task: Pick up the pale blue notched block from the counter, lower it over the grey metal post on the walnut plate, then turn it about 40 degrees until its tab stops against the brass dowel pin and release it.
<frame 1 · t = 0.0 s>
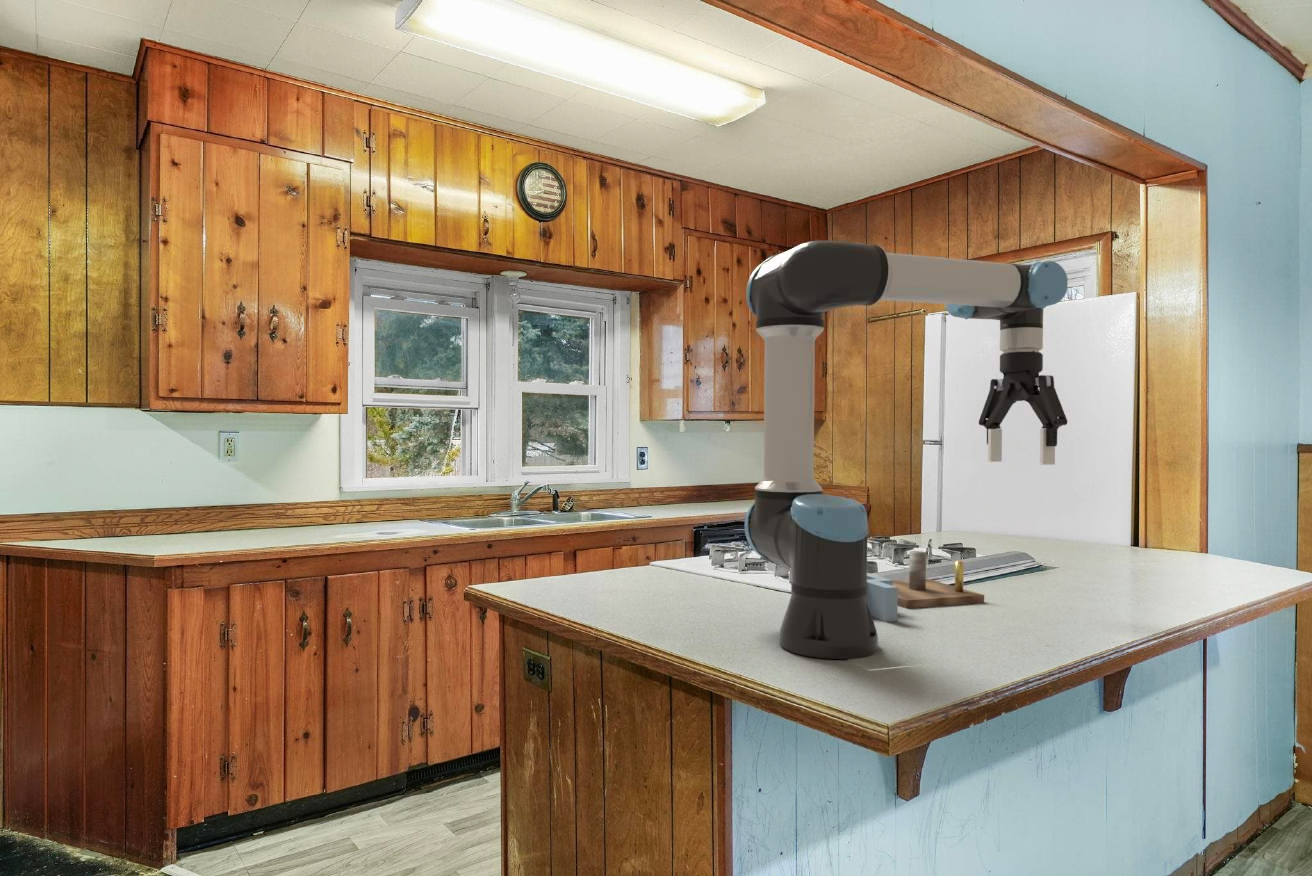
hand: (1019, 463, 155), 28 cm above the countertop, fingers open, 13 cm apart
pale blue notched block: (881, 617, 146), on the countertop
dowel: (958, 598, 163), resting on post base
post base: (917, 596, 165), on the countertop
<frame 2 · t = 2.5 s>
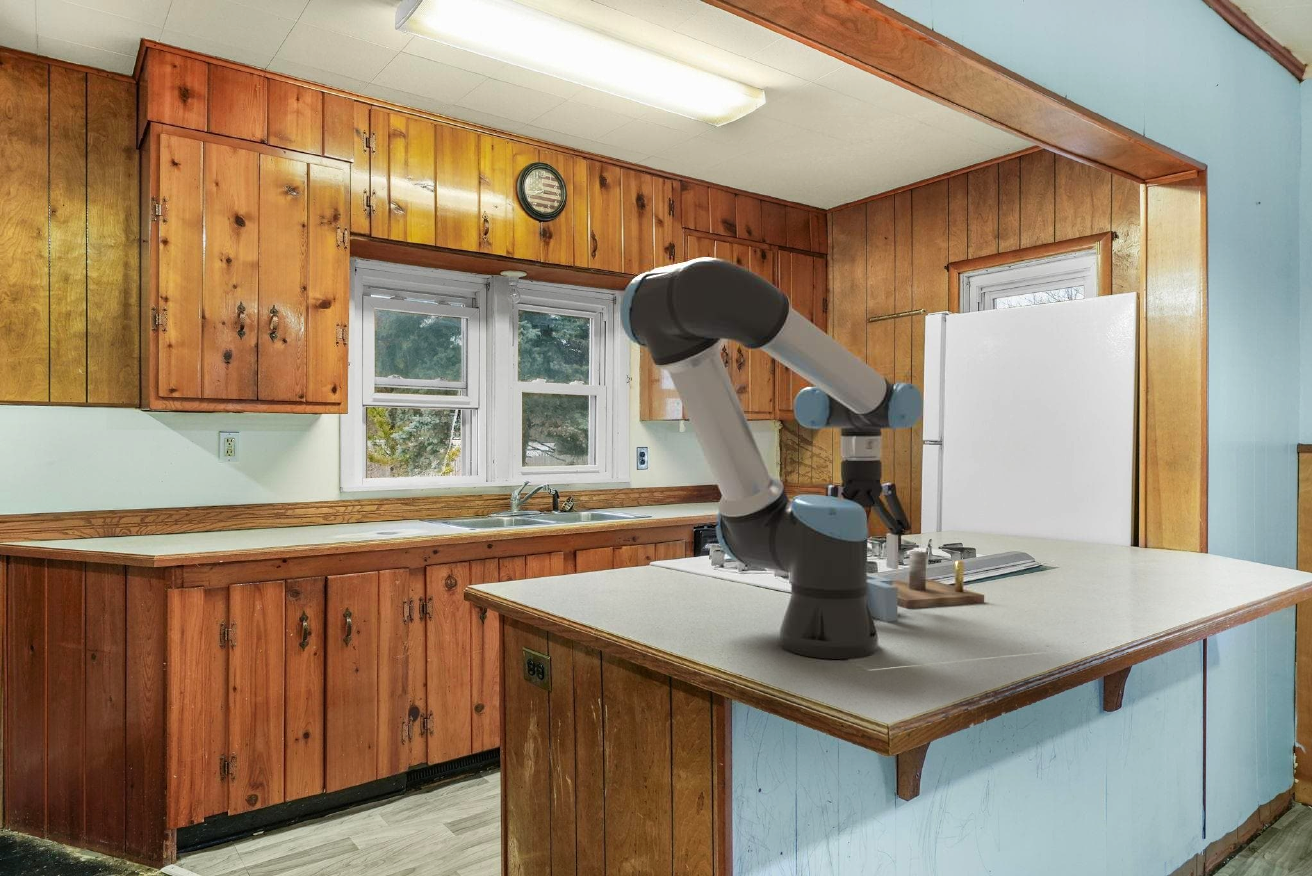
hand: (861, 570, 153), 7 cm above the countertop, fingers open, 13 cm apart
nothing on the countertop moved.
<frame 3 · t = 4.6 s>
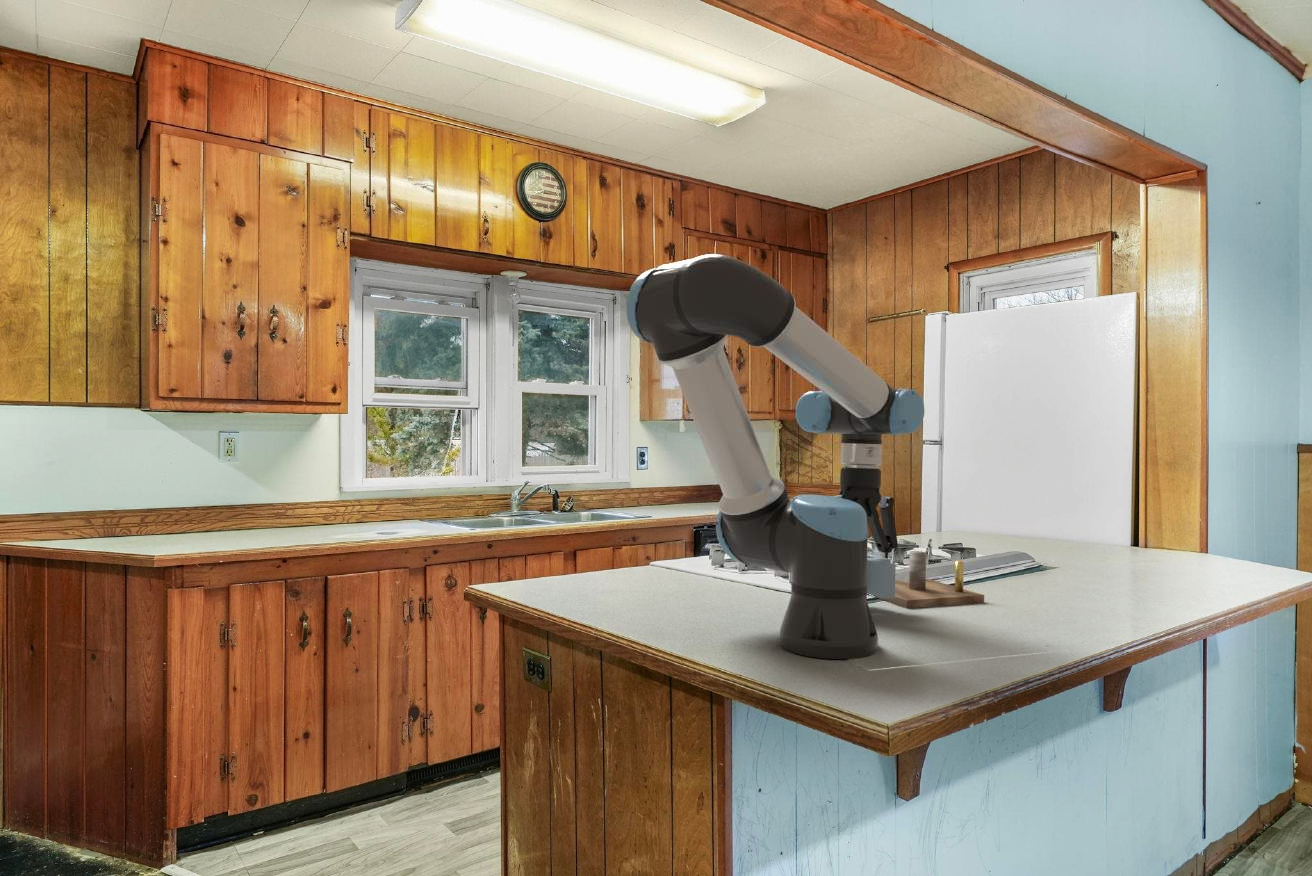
hand: (857, 586, 152), 4 cm above the countertop, fingers closed on pale blue notched block, 8 cm apart
pale blue notched block: (879, 595, 145), point 4 cm above the countertop, touching gripper
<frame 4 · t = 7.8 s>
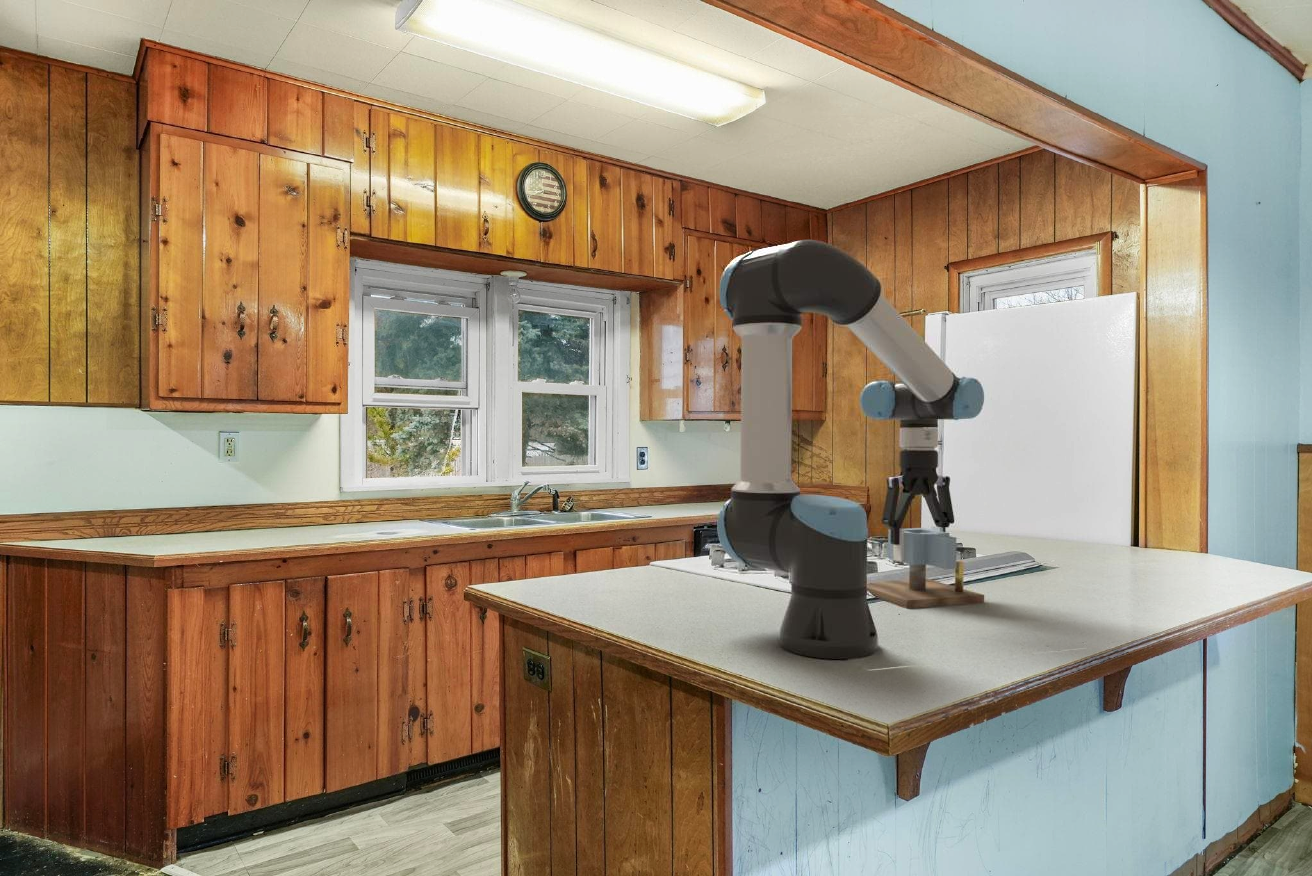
hand: (918, 559, 165), 8 cm above the countertop, fingers closed on pale blue notched block, 8 cm apart
pale blue notched block: (941, 566, 158), point 7 cm above the countertop, touching gripper
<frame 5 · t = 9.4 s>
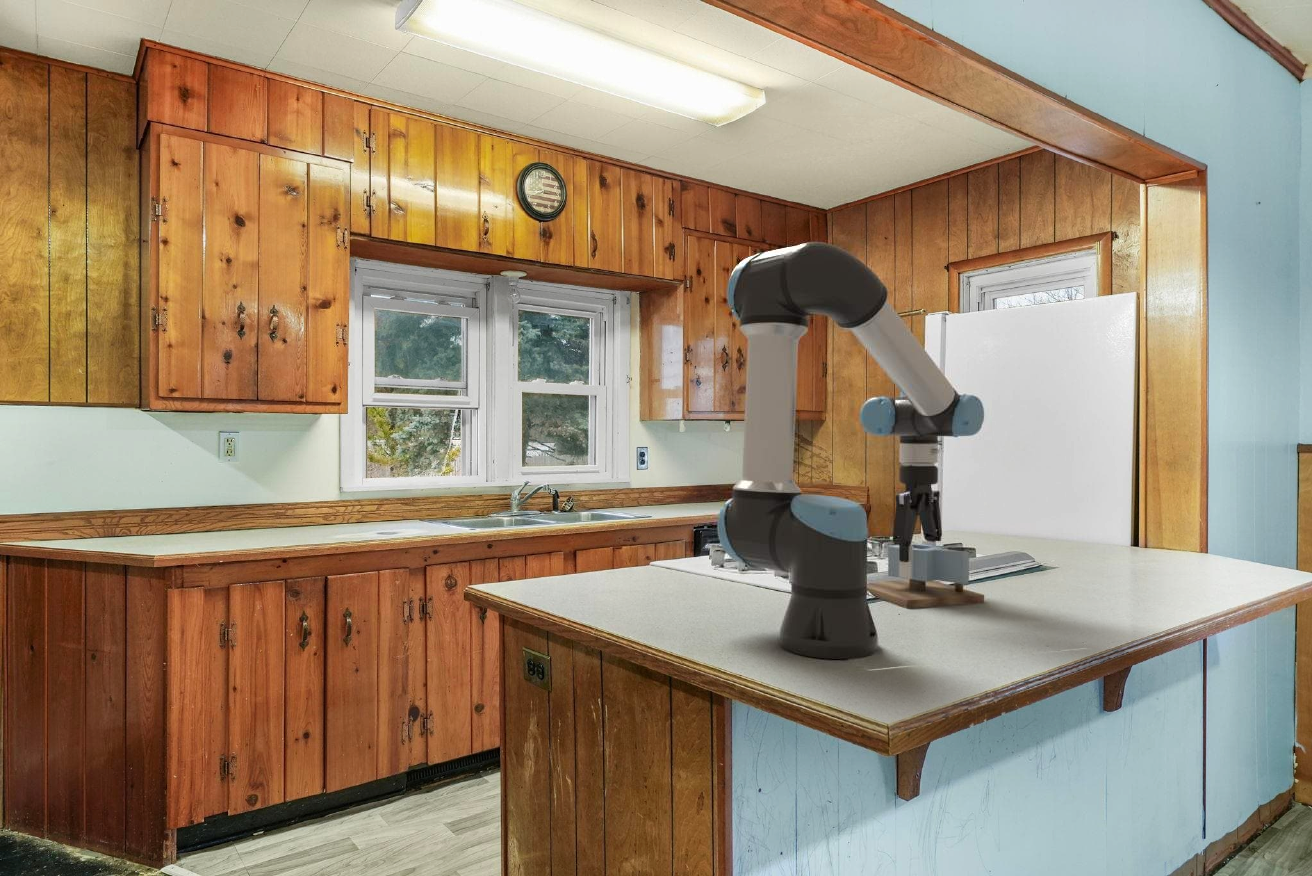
hand: (917, 574, 165), 4 cm above the countertop, fingers closed on pale blue notched block, 8 cm apart
pale blue notched block: (951, 580, 160), point 4 cm above the countertop, touching gripper
when the fingers open (3 cm above the countertop, at t = 10.9 s): pale blue notched block drops 1 cm, resting on post base.
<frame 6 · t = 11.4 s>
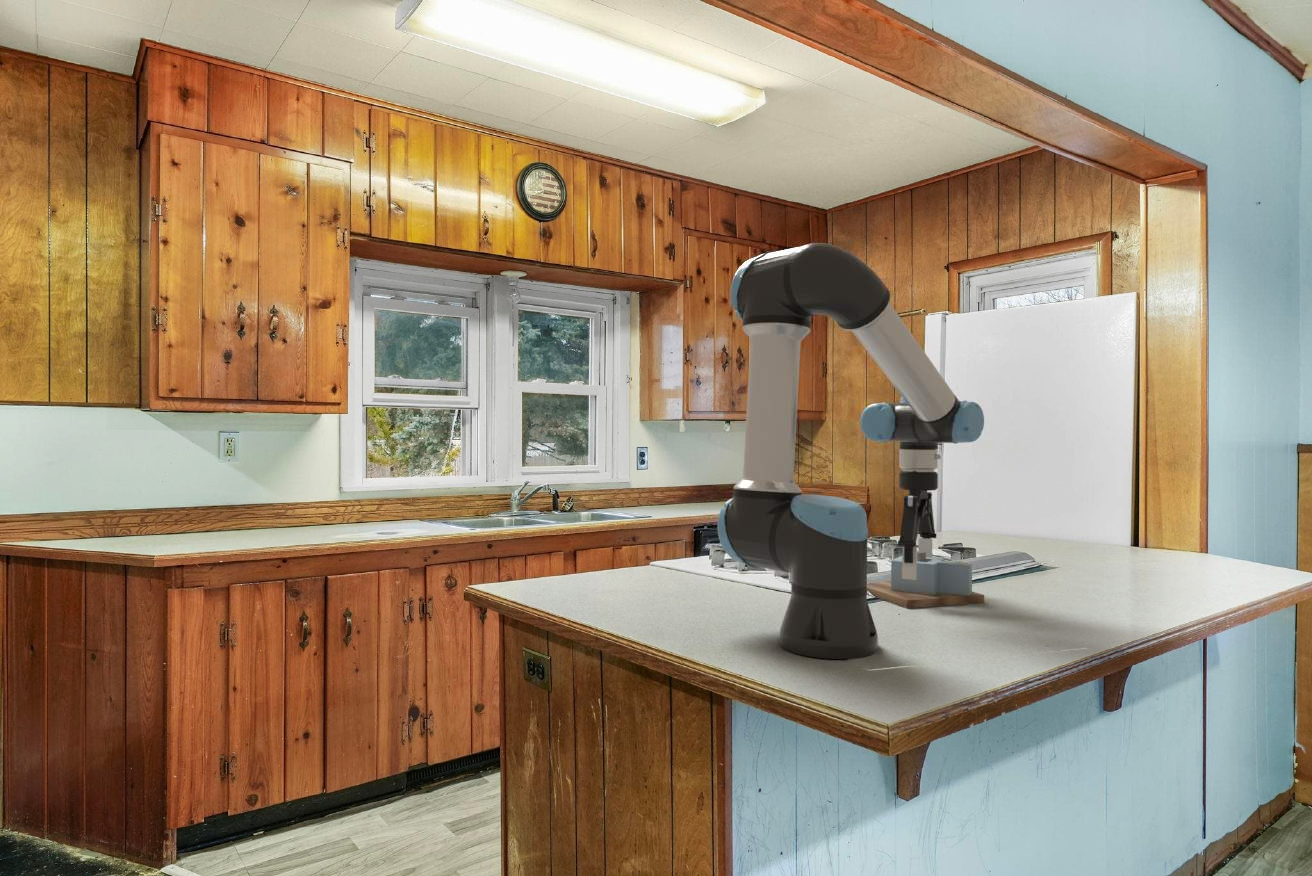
hand: (917, 574, 165), 5 cm above the countertop, fingers open, 13 cm apart
pale blue notched block: (954, 592, 161), point 1 cm above the countertop, touching post base
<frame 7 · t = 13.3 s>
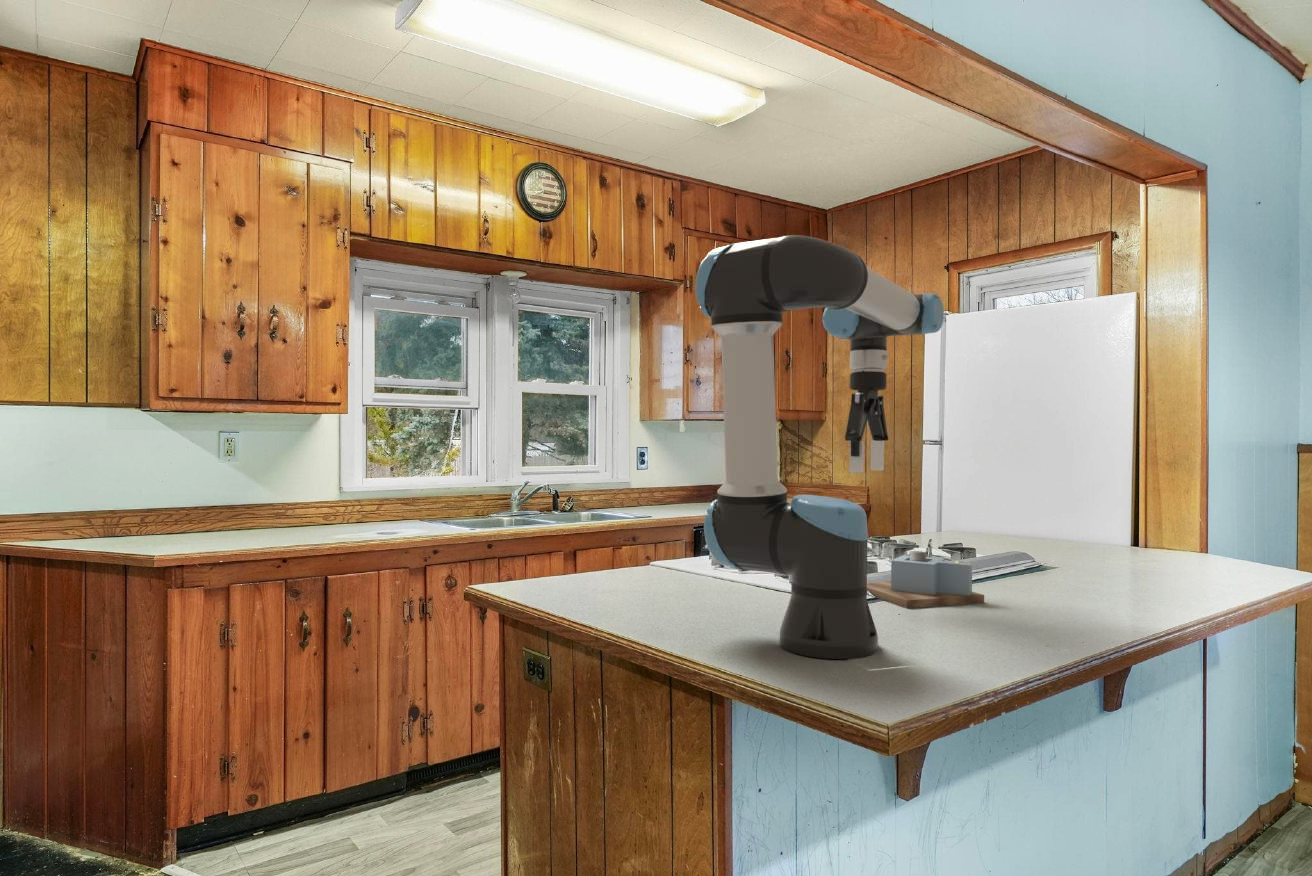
hand: (867, 471, 171), 25 cm above the countertop, fingers open, 13 cm apart
nothing on the countertop moved.
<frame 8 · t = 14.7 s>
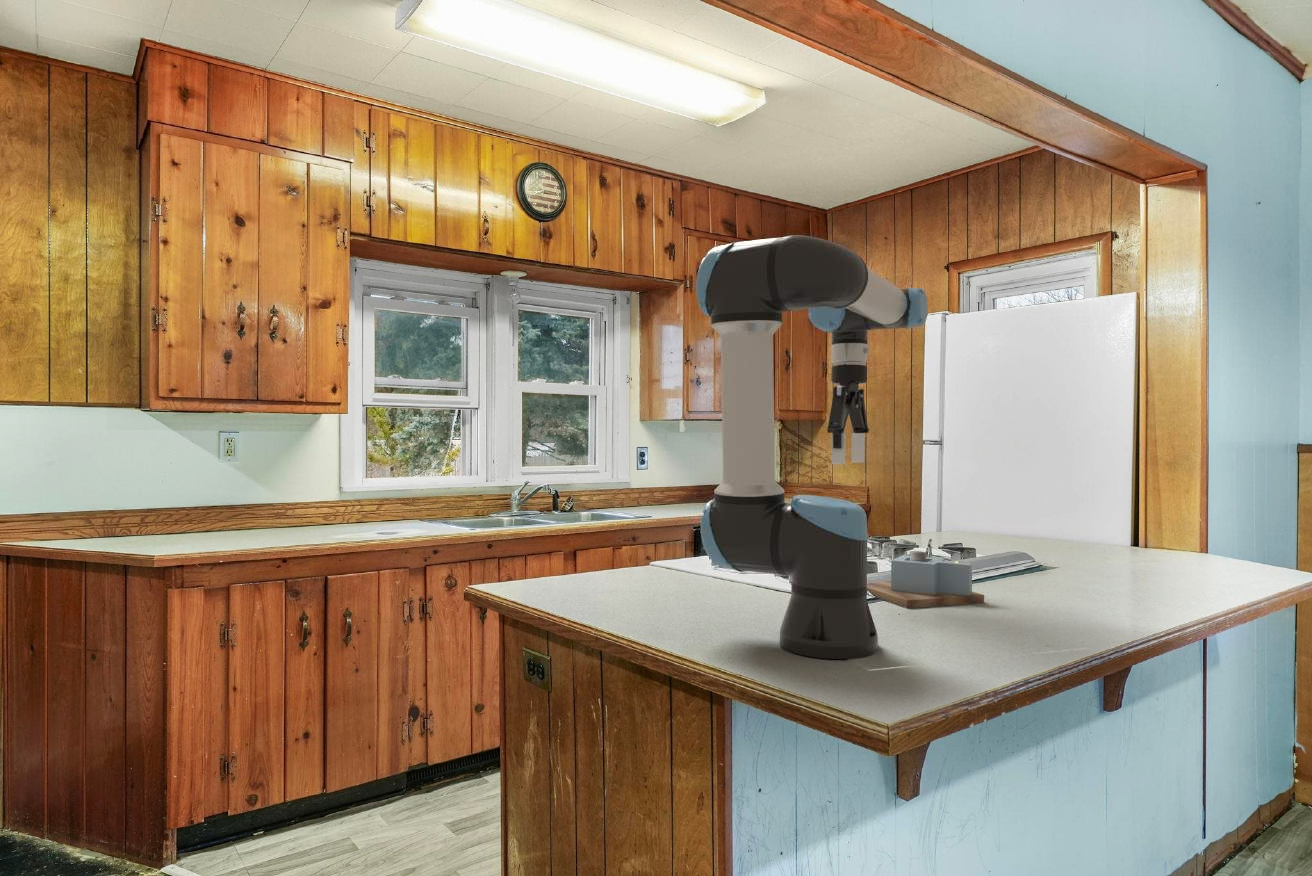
hand: (848, 463, 173), 27 cm above the countertop, fingers open, 13 cm apart
nothing on the countertop moved.
at the end: pale blue notched block 2.1 cm from the dowel (horizontally); pale blue notched block 0.3 cm from the target spot on the post base, point 1.5 cm above the post base's base; the gripper is holding nothing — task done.
